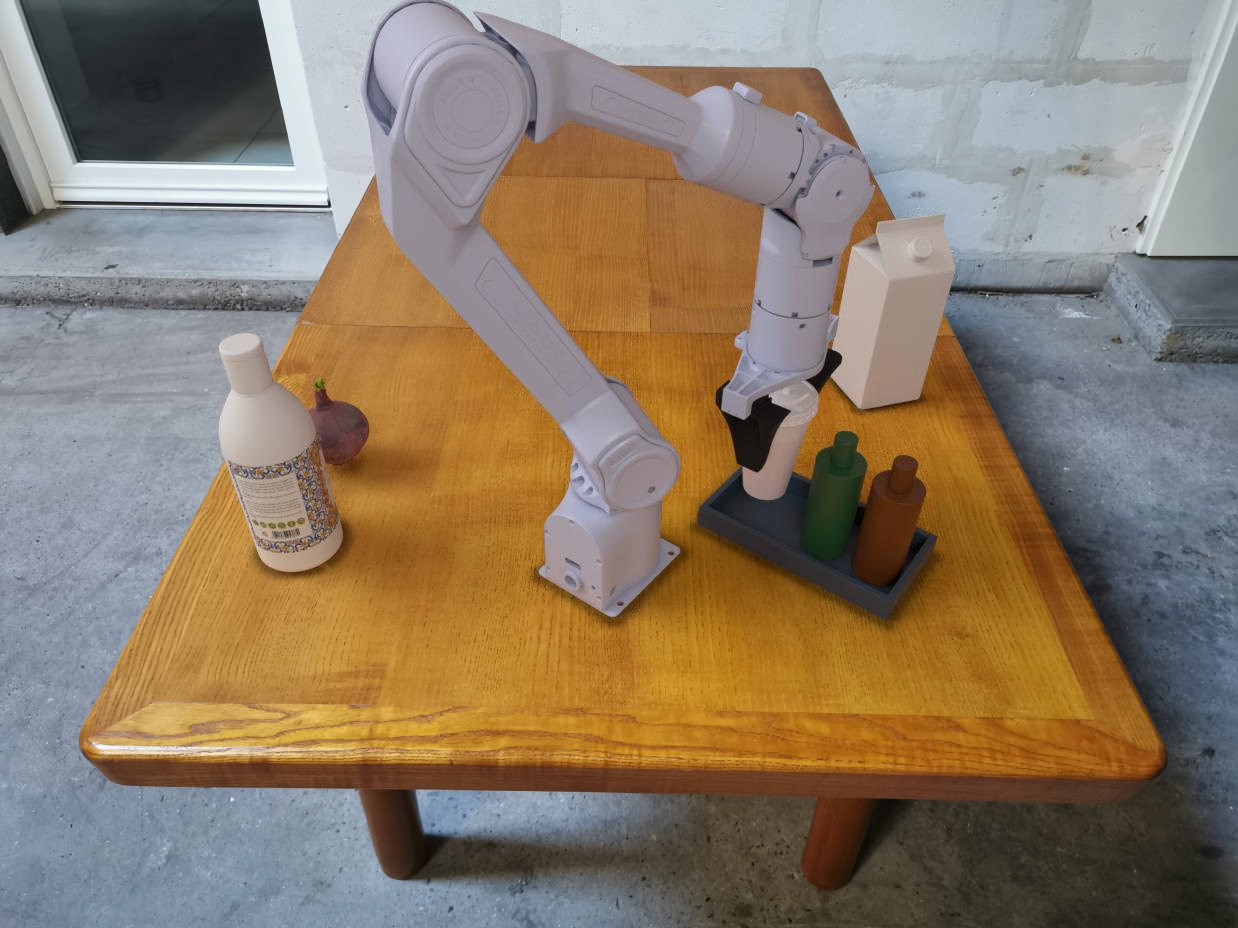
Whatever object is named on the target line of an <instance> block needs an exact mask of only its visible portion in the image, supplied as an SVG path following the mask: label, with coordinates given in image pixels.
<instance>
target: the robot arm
mask: <svg viewBox="0 0 1238 928" xmlns="http://www.w3.org/2000/svg"><path fill="white" fill-rule="evenodd" d="M472 14H473V15H474V16H475V17H476V18H477V20H478V21H479V22H480V24H481V26H482V28H483V30H484V31H479V30H478V28H476V27H475V26H474V24H473V22H472V21H471V20H470V18H468V17H467V16H466V14H464V12H463V11H461V10H460V9H459V8H458V7H457V6H455V5H454V4H452V3H450V2H448V1H445V0H402V1H400V2H398V3H396V4H394V5H393V6H392V7H391V8H389V9H388V10H387V11H386V12H385V13H383V15H382V16H381V18H380V19H379V20H378V22H377V24H376V25H375V28H374V29H373V32H372V34H371V38H370V41H369V46H368V50H367V55H366V60H365V64H364V69H363V73H362V78H361V82H360V92H361V97H362V102H363V106H364V109H365V114H366V118H367V122H368V130H369V135H370V142H371V150H372V158H373V164H374V165H373V166H374V172H375V178H376V179H375V180H376V186H377V187H376V188H377V194H378V200H379V208H380V214H381V217H382V220H383V222H384V224H385V226H386V228H387V230H388V232H389V233H390V236H391V237H392V239H393V241H394V242H395V244H396V246H397V247H398V249H399V250H400V251H401V253H403V255H404V256H405V257H406V259H408V260H409V261H410V262H411V264H412V265H413V266H414V267H415V268H416V269H417V270H418V271H419V272H420V274H421V275H423V277H424V278H425V279H426V280H427V281H428V282H429V283H430V284H431V285H432V287H433V288H434V289H435V290H436V291H437V292H438V293H439V294H440V296H442V298H444V300H445V301H446V302H447V303H448V304H449V305H450V306H451V308H453V310H454V311H455V312H456V313H457V314H458V315H459V317H461V319H462V320H463V321H464V322H465V323H466V324H467V325H468V326H469V327H470V328H471V330H473V331H474V333H475V334H476V335H477V336H478V337H479V339H481V341H483V343H484V344H485V345H486V346H487V347H488V348H489V349H490V350H491V352H492V353H493V354H494V355H495V356H496V357H497V358H498V359H499V360H500V361H501V362H502V363H503V364H504V365H505V367H506V368H507V369H508V370H509V371H510V372H511V373H512V375H513V376H514V377H515V378H516V379H517V380H518V381H519V382H520V383H521V384H522V385H523V387H524V388H525V389H526V390H527V391H528V392H529V393H530V395H532V396H533V398H534V399H535V400H536V401H537V402H538V403H539V404H540V405H541V406H542V408H543V409H544V410H545V411H546V412H547V413H548V414H549V415H550V416H551V418H553V420H554V421H555V422H556V423H557V424H558V427H559V430H560V431H561V433H562V435H563V436H564V437H565V439H566V440H567V441H568V442H569V443H570V445H571V447H572V449H573V456H572V461H571V465H570V472H569V476H570V479H569V483H568V487H567V489H566V492H565V494H564V497H563V498H562V500H561V501H560V503H559V505H558V506H557V507H556V508H555V509H554V510H553V511H552V512H551V513H550V514H549V515H548V516H547V518H546V520H545V521H544V523H543V544H544V560H545V561H544V562H545V563H544V564H543V565H542V566H541V567H540V568H539V569H538V574H539V576H540V577H542V578H544V579H546V580H548V582H551V583H552V584H554V585H556V586H557V587H559V588H561V589H563V590H564V591H566V592H568V593H569V594H570V595H572V596H574V597H576V598H578V599H579V600H581V601H582V602H584V603H586V604H587V605H589V606H591V607H593V608H594V609H596V610H597V611H599V612H601V613H603V614H604V615H606V616H608V617H609V618H615V617H617V616H620V614H621V613H622V612H623V610H625V609H626V608H627V607H628V606H629V605H630V604H631V603H632V602H633V601H634V600H635V599H636V598H637V597H638V596H639V595H640V594H641V593H642V592H643V590H645V589H646V588H647V587H648V586H649V585H650V584H651V583H652V582H653V581H654V580H655V579H656V578H657V577H658V576H659V575H660V574H661V573H662V571H664V570H665V569H666V568H667V567H668V566H669V564H671V563H672V562H673V560H675V559H676V558H677V557H678V556H679V555H680V554H681V548H680V547H679V546H677V545H675V544H673V543H672V542H670V541H668V540H666V539H664V538H662V537H661V534H662V515H663V501H664V498H665V497H666V496H667V495H668V494H669V493H670V492H671V490H672V489H673V488H674V486H675V485H676V483H677V481H678V480H679V477H680V475H681V469H682V461H681V456H680V454H679V452H678V450H677V449H676V447H674V446H673V445H672V444H671V443H670V441H668V440H666V438H665V437H664V435H663V434H662V433H661V431H660V430H659V429H658V428H657V426H656V425H655V423H654V422H653V421H652V419H651V418H650V417H649V416H648V414H647V413H646V412H645V410H644V408H642V406H641V405H640V404H639V402H638V401H637V399H636V398H635V397H634V393H633V391H632V390H631V388H630V387H629V386H628V384H626V383H625V382H624V381H623V380H621V379H619V378H617V377H614V376H611V375H607V374H605V372H602V371H601V370H600V369H599V368H598V366H597V365H596V364H595V363H594V361H592V360H591V359H590V358H589V356H588V355H587V354H586V353H585V351H584V350H583V349H582V348H581V346H580V345H579V344H578V343H577V341H576V340H575V339H574V338H573V336H572V335H571V333H570V332H569V331H568V329H566V327H565V326H564V325H563V323H562V322H561V321H560V320H559V319H558V317H557V316H556V315H555V313H554V312H553V311H552V310H551V308H550V307H549V306H548V305H547V303H546V302H545V301H544V300H543V298H542V297H541V296H540V295H539V293H538V292H537V291H536V290H535V288H534V287H533V286H532V284H531V283H530V282H529V281H528V280H527V278H526V277H525V276H524V274H523V273H522V272H521V270H520V269H519V268H518V267H517V266H516V264H515V263H514V262H513V260H512V259H511V258H510V257H509V256H508V253H506V252H505V250H504V249H503V248H502V247H501V245H500V244H499V243H498V242H497V240H496V239H495V238H494V236H492V234H491V233H490V232H489V231H488V229H487V228H486V227H485V225H484V224H483V223H482V221H481V218H482V214H483V211H484V207H485V204H486V200H487V196H488V194H490V191H491V190H492V188H493V187H494V185H495V184H496V182H497V180H498V179H499V177H500V175H501V174H502V173H503V171H504V169H505V168H506V166H507V165H508V162H509V161H510V159H511V158H512V157H513V155H514V153H515V152H516V150H517V149H518V147H519V145H520V143H521V141H522V139H523V137H524V135H525V136H526V138H528V139H529V140H530V141H531V142H532V143H533V145H539V144H541V143H543V142H545V141H546V140H547V139H549V138H550V137H551V136H552V135H554V134H555V133H556V132H557V131H558V130H559V129H560V128H562V127H563V126H565V124H566V123H576V124H578V125H581V126H585V127H589V128H592V129H594V130H598V131H601V132H604V133H607V134H611V135H614V136H617V137H621V138H624V139H627V140H630V141H633V142H636V143H640V144H643V145H646V146H649V147H652V148H656V149H659V150H661V151H665V152H669V153H670V155H671V158H672V162H673V164H674V167H675V169H676V172H677V174H678V175H679V177H680V178H682V179H683V180H684V181H686V182H688V183H691V184H693V185H697V186H699V187H702V188H704V189H707V190H711V191H713V192H716V193H720V194H722V195H724V196H728V197H731V198H734V199H736V200H740V201H741V202H742V201H743V202H745V203H748V204H752V205H754V206H756V207H759V208H763V215H762V223H761V232H760V238H759V239H760V240H759V249H758V255H757V256H758V258H757V265H756V273H755V274H756V275H755V283H754V290H753V298H752V305H751V313H750V321H749V322H750V323H749V329H745V330H743V331H742V332H740V333H739V334H738V335H737V336H735V338H734V344H733V345H734V347H735V348H737V349H739V350H741V351H742V352H741V356H740V358H739V360H738V363H737V365H736V368H735V371H734V373H733V376H732V378H731V380H730V379H728V380H726V381H725V382H724V383H722V385H720V386H719V387H718V388H717V389H716V391H715V399H714V404H715V405H716V407H717V408H718V410H719V411H720V413H721V414H722V416H723V418H724V420H725V422H726V424H727V426H728V429H729V432H730V433H729V434H730V436H731V441H732V446H733V451H734V456H735V460H736V464H737V465H738V466H740V467H741V466H743V467H745V468H747V469H749V470H752V471H754V472H756V473H758V472H759V471H760V470H761V469H762V468H763V466H764V465H765V463H766V461H767V458H768V455H769V451H770V448H771V444H772V441H773V439H774V436H775V434H776V432H777V430H778V428H779V426H780V425H781V423H782V422H783V420H784V419H785V418H786V417H787V415H788V414H789V413H790V412H791V410H789V409H786V408H784V407H781V406H779V405H777V404H774V403H772V397H770V398H769V394H770V393H773V392H775V391H778V390H781V389H783V388H786V387H788V386H791V385H793V384H796V383H798V382H801V381H804V380H806V381H807V382H809V383H810V384H811V385H812V386H813V387H814V388H815V389H816V390H817V392H818V395H819V396H820V393H821V392H822V390H823V388H824V387H825V386H826V383H827V382H828V380H830V378H831V377H830V376H831V375H832V374H833V372H834V371H835V370H836V369H837V368H838V367H839V365H840V364H841V363H842V355H841V354H840V353H839V352H837V351H834V350H832V348H829V345H830V342H833V341H834V338H835V337H836V333H837V327H838V322H839V317H838V316H839V315H835V314H833V313H832V310H833V304H834V299H835V294H836V288H837V283H838V277H839V272H840V266H841V261H842V256H843V253H844V252H845V250H846V247H848V246H849V245H850V241H851V237H852V232H853V229H854V227H855V225H856V223H857V222H858V221H859V219H860V218H861V217H862V216H863V215H864V213H865V212H866V210H867V209H868V207H869V206H870V203H871V201H872V199H873V197H874V193H875V190H876V185H875V184H872V182H871V181H870V180H871V177H870V169H869V163H868V161H867V160H865V158H866V156H865V155H864V153H863V152H862V151H861V150H859V149H858V148H857V147H855V146H853V145H852V144H850V143H848V142H847V141H844V140H843V139H842V138H839V137H838V136H836V135H834V134H832V133H830V132H829V131H827V130H826V129H823V128H822V127H820V126H819V125H818V120H816V119H815V118H813V117H812V116H810V115H808V114H806V113H804V112H801V111H797V112H795V114H794V115H793V116H791V115H789V114H786V113H784V112H782V111H779V110H777V109H775V108H773V107H771V106H768V105H765V104H763V103H761V101H762V99H763V93H762V92H760V91H758V90H757V89H755V88H753V87H751V86H749V85H747V84H745V83H742V82H740V81H736V82H735V83H734V85H733V87H732V89H730V88H727V87H725V86H722V85H712V86H709V87H706V88H704V89H702V90H700V91H698V92H696V93H694V94H693V95H691V96H688V97H687V96H685V95H683V94H680V93H678V92H676V91H674V90H672V89H670V88H667V87H665V86H663V85H661V84H659V83H657V82H654V81H653V80H650V79H648V78H646V77H644V76H641V75H640V74H637V73H636V72H632V71H630V70H628V69H626V68H624V67H622V66H620V65H618V64H615V63H613V62H612V61H609V60H607V59H604V58H603V57H601V56H598V55H596V54H594V53H593V52H590V51H587V50H585V49H583V48H581V47H579V46H576V45H575V44H572V43H570V42H568V41H565V40H564V39H561V38H560V37H557V36H555V35H552V34H550V33H547V32H544V31H542V30H538V29H535V28H533V27H530V26H527V25H524V24H520V23H518V22H515V21H512V20H509V19H507V18H503V17H500V16H498V15H494V14H490V13H486V12H481V11H476V10H473V11H472ZM669 553H673V554H669ZM619 603H622V605H619Z"/></svg>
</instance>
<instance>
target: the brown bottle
mask: <svg viewBox="0 0 1238 928" xmlns="http://www.w3.org/2000/svg"><path fill="white" fill-rule="evenodd" d="M919 464H920V463H919V461H918V460H917V459H916V458H915V457H914V456H911V455H907V454H899V455H896V456H895V457H894V458H893V461H892V465H891V469H887V470H883V471H882V470H881V471H880V472H878V473H877V474H875V475H874V477H873V479H872V481H871V485H870V489H869V493H868V497H867V501H866V503H865V504H866V508H865V512H864V516H863V520H862V524H861V528H860V531H859V535H858V539H857V543H856V547H855V551H854V555H853V559H852V563H851V566H852V570H853V572H854V573H855V575H856V576H857V577H858V578H859V579H860V580H862V581H864V582H865V583H868V584H870V585H874V586H889V585H892V584H894V583H896V582H897V581H898V580H899V578H900V576H901V573H902V570H903V566H904V563H905V560H906V557H907V554H908V550H909V547H910V544H911V541H912V538H913V534H914V531H915V528H916V527H917V525H918V521H919V518H920V515H921V511H922V510H923V509H922V508H923V506H924V503H925V499H926V496H927V487H926V485H925V483H924V482H923V481H922V480H921V479H920V478H919V477H917V472H918V469H919Z"/></svg>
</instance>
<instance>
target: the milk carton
mask: <svg viewBox="0 0 1238 928" xmlns="http://www.w3.org/2000/svg"><path fill="white" fill-rule="evenodd" d="M946 215H947V214H946V213H944V212H943V213H937V214H929V215H921V216H914V217H906V218H905V217H904V218H898V219H892V220H884V221H883V220H882V221H878V222H877V225H876V229H875V233H873V234H871V235H869V236H868V237H866V238H864V239H863V240H861V241H858V243H856V244H854V245H852V246H851V249H850V254H849V260H848V265H847V270H846V275H845V279H844V280H845V281H844V285H843V289H842V296H841V300H840V305H839V311H838V315H837V316H838V317H839V322H838V327H837V333H836V337H835V338H834V339H833V340H832V347H831V349H832V350H834V351H837V352H839V353H840V354H841V355H842V363H841V364H840V365H839V367H838V368H837V369H836V370H835V371H834V372H833V374H832V375H831V376H830V378H831V379H832V380H833V381H834V382H835V384H836V385H837V386H838V387H839V389H840V390H842V392H843V393H844V394H845V395H846V396H847V397H848V399H849V400H850V401H851V402H852V403H853V404H854V405H855V406H856V408H857V409H860V410H869V409H873V408H879V407H885V406H890V405H894V404H895V405H896V404H901V403H905V402H906V403H907V402H910V401H915V400H919V399H920V398H921V394H922V390H923V387H924V383H925V380H926V376H927V373H928V370H929V366H930V362H931V359H932V355H933V351H934V349H935V345H936V340H937V337H938V333H939V330H940V326H941V323H942V319H943V316H944V313H945V308H946V305H947V301H948V298H949V294H950V291H951V287H952V285H953V284H952V283H953V280H954V277H955V273H956V269H957V268H956V265H955V261H954V258H953V254H952V250H951V248H950V247H951V246H950V244H949V240H948V237H947V233H946V230H945V227H944V222H945V218H946Z"/></svg>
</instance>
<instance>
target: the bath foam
mask: <svg viewBox="0 0 1238 928" xmlns="http://www.w3.org/2000/svg"><path fill="white" fill-rule="evenodd" d="M218 352H219V356H220V358H221V362H222V364H223V367H224V370H225V373H226V376H227V379H228V382H229V385H230V388H231V389H230V391H229V392H228V396H227V398H226V400H225V402H224V406H223V408H222V409H221V412H220V417H219V421H218V439H219V440H218V441H219V446H220V449H221V453H222V457H223V459H224V461H225V465H226V467H227V470H228V473H229V477H230V479H231V481H232V484H233V486H234V490H235V492H236V496H237V498H238V501H239V504H240V506H241V509H242V512H243V515H244V517H245V520H246V523H247V526H248V529H249V532H250V535H251V538H252V541H253V543H254V545H255V548H256V551H257V554H258V556H259V558H260V559H261V561H262V562H263V564H264V565H266V566H267V567H269V568H271V569H273V570H276V571H279V572H284V573H298V572H303V571H308V570H311V569H314V568H317V567H319V566H321V565H323V564H325V563H326V562H327V561H329V560H330V559H331V558H332V557H333V556H334V555H335V554H336V553H337V551H338V550H339V549H340V547H341V545H342V542H343V539H344V530H343V527H342V522H341V519H340V514H339V511H338V506H337V502H336V498H335V494H334V490H333V488H332V484H331V479H330V476H329V472H328V467H327V464H326V463H325V460H324V456H323V452H322V449H321V445H320V441H319V437H318V433H317V430H316V426H315V424H314V421H313V419H312V417H311V415H310V413H309V410H308V408H307V406H306V405H305V403H303V401H302V400H301V399H300V398H299V397H298V396H297V395H295V393H293V392H292V391H291V390H290V389H288V387H286V386H284V385H282V384H281V383H280V382H278V381H277V380H276V379H274V377H273V374H272V369H271V366H270V362H269V359H268V356H267V355H266V353H265V348H264V342H263V339H262V338H261V337H260V336H259V335H257V334H255V333H249V332H243V333H241V332H240V333H236V334H233V335H229V336H227V337H226V338H224V339H223V340H221V342H220V343H219V345H218Z"/></svg>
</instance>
